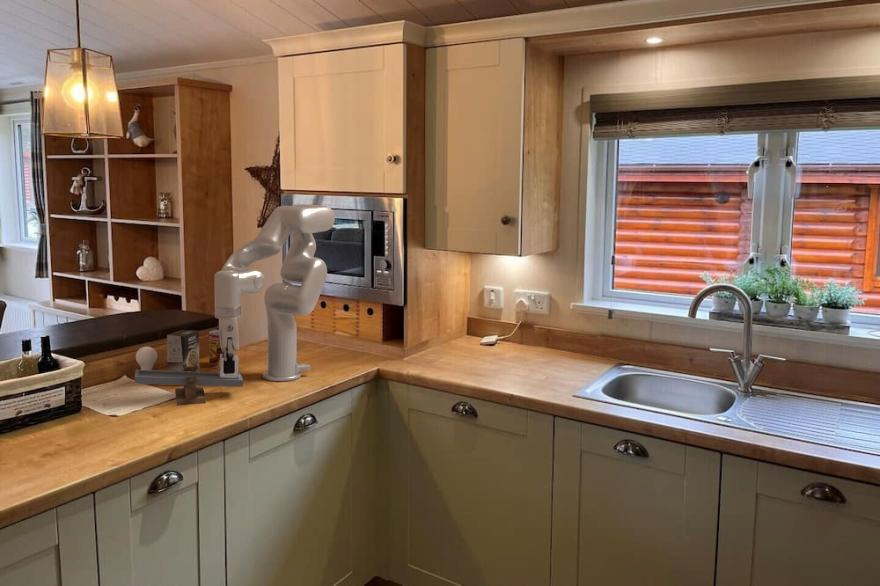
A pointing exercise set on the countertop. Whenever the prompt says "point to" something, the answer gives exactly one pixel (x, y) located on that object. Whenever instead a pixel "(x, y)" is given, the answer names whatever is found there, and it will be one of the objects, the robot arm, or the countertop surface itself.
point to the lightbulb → (146, 358)
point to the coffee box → (183, 350)
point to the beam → (179, 378)
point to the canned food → (214, 349)
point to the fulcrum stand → (190, 391)
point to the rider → (221, 368)
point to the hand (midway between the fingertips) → (228, 370)
